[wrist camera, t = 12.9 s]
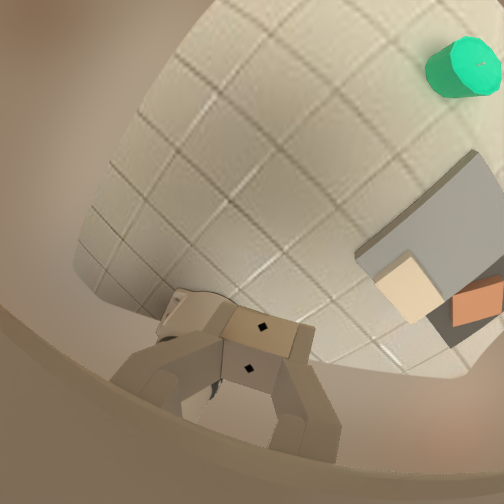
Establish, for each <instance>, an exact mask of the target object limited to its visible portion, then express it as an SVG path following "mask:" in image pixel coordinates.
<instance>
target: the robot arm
mask: <svg viewBox="0 0 504 504" xmlns="http://www.w3.org/2000/svg"><path fill="white" fill-rule="evenodd" d="M298 325H299V326H298ZM296 332H297V333H296ZM314 333H315V327H314V326H310V325H306V324H302V323H300V324H299V323H297V322H293V321H289V320H286V319H282V318H279V317H275V316H271V315H268V314H265V313H262V312H259V311H256V310H253V309H250V308H247V307H243V306H240V305H237V304H234V303H233V302H231V301H230V300H228V299H227V298H225V297H223V296H220V295H218V294H215V293H210V292H191V291H188V290H185V289H181V288H178V289H176V291H175V292H174V294H173V296H172V298H171V300H170V302H169V304H168V306H167V309H166V311H165V313H164V315H163V317H162V319H161V322H160V324H159V326H158V328H157V331H156V334H157V336H158V340H157V342H156V345H155V346H152V347H149V348H147V349H144V350H141V351H138V352H135V353H132V354H131V356H130V357H129V358H128V359H127V360H126V361H125V362H124V364H123V365H122V366H121V367H120V368H119V369H118V371H117V372H116V373H115V374H114V375H113V377H112V378H111V379H110V380H109V381H107V380H106V379H104V378H102V377H100V376H99V375H97V374H95V373H94V372H92V371H91V370H89V369H87V368H85V367H84V366H83V365H81V364H79V363H78V362H76V361H75V360H73V359H72V358H70V357H69V356H67V355H66V354H64V353H63V352H61V351H60V350H58V349H57V348H56V347H54V346H53V345H51V344H50V343H49V342H47V341H46V340H44V339H43V338H42V337H40V336H39V335H38V334H37V333H35V332H34V331H33V330H31V329H30V328H29V327H27V326H26V325H25V324H24V323H22V322H21V321H20V320H19V319H18V318H16V317H15V316H14V315H13V314H12V313H10V312H9V311H8V310H7V309H6V308H4V307H3V306H2V305H1V304H0V504H504V470H497V471H488V472H476V473H456V474H422V473H421V474H420V473H402V472H389V471H379V470H369V469H362V468H355V467H348V466H342V465H336V464H335V463H336V457H337V452H338V447H339V441H340V435H341V429H342V425H341V423H340V421H339V419H338V417H337V415H336V413H335V411H334V409H333V407H332V405H331V403H330V401H329V399H328V397H327V395H326V393H325V391H324V389H323V387H322V385H321V383H320V381H319V379H318V377H317V375H316V373H315V371H314V369H313V367H312V366H311V365H308V364H307V362H308V358H309V354H310V350H311V346H312V342H313V337H314ZM227 380H228V381H231V382H234V383H238V384H241V385H244V386H247V387H250V388H253V389H256V390H259V391H262V392H265V393H268V394H271V397H272V401H273V404H274V408H275V411H276V415H277V418H278V422H277V424H276V427H275V429H274V431H273V434H272V436H271V438H270V440H269V442H268V445H267V447H266V448H264V447H261V446H257V445H254V444H251V443H247V442H245V441H242V440H238V439H236V438H232V437H230V436H227V435H224V434H221V433H219V432H216V431H213V430H210V429H208V428H205V427H203V426H200V425H198V424H197V422H198V420H199V418H200V416H201V414H202V412H203V410H204V408H205V406H206V405H207V403H208V401H209V400H211V399H212V398H213V397H214V395H215V394H216V393H217V391H218V390H219V388H220V385H221V383H222V382H224V381H227Z"/></svg>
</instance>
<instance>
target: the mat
mask: <svg viewBox="0 0 504 504" xmlns="http://www.w3.org/2000/svg"><path fill="white" fill-rule="evenodd" d="M495 275H500V276H501V278H502V279H503V281H504V255H503V256H502V257H500V258H499V259H498V260H497V261H496V262H495V263H493V264H492V265H491V266H490V267H489V268H488V269H486V270H485V271H484V272H483V273H481V274H480V275H479V276H478V277H477V278H475V279H474V280H473V281H471V282H474V281H478V280H482V279H485V278H489V277H492V276H495ZM471 282H470V283H471ZM503 311H504V288H503V302H502V312H503ZM502 312H501V313H502ZM498 315H499V314H497V315H494V316H491V317H488V318H484V319H481V320H477V321H474V322H470V323H466V324H463V325H459V326H455V327H453V326H452V322H451V319H450V298H449V299H448V300H446V301H445V302H444V303H443V304H441V305H440V306H438V307H437V308H436V309H434V310H433V311H431V312H430V313H428V314H427V315H426V317H427V318H428V319H429V321H430V322H431V323H432V324H433V326H434V327H435V328H436V330H437V331H438V332H439V334H440V335H441V336H442V338H443V339H444V340H445V342H446V343H447V344H448V346H449V347H450V349H451V348H452V347H454V346H455V345H457V344H459V343H460V342H462V341H463V340H465V339H466V338H468V337H469V336H471V335H472V334H473V333H475V332H476V331H478V330H479V329H481V328H482V327H483V326H485V325H486V324H488V323H489V322H490V321H492V320H493V319H494V318H496V317H497V316H498Z"/></svg>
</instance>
